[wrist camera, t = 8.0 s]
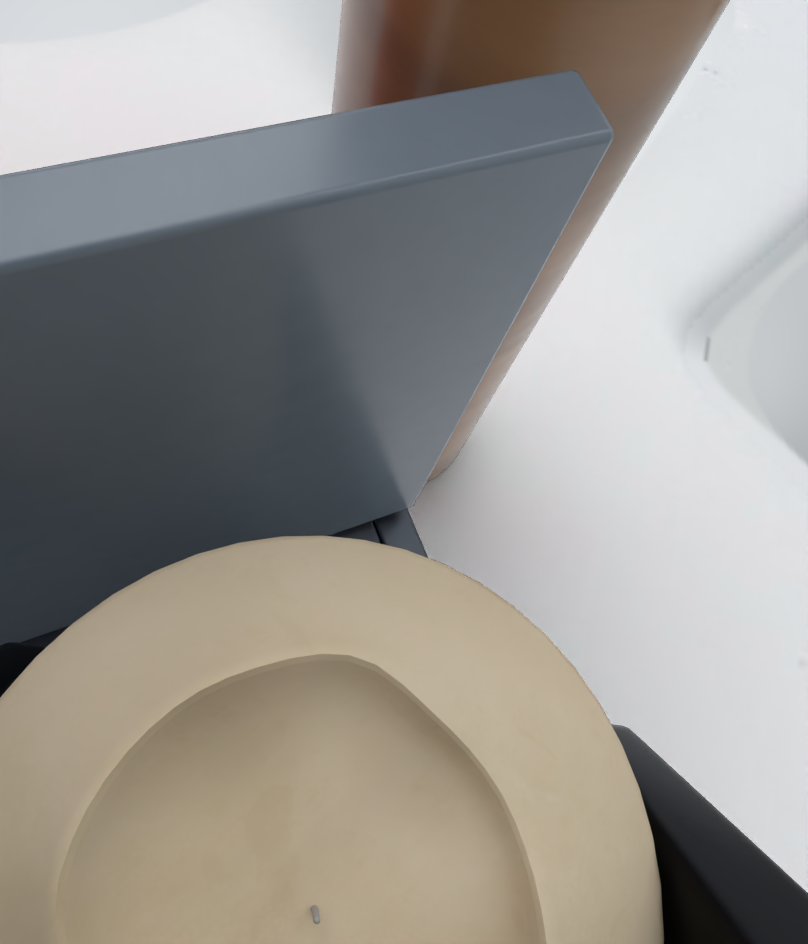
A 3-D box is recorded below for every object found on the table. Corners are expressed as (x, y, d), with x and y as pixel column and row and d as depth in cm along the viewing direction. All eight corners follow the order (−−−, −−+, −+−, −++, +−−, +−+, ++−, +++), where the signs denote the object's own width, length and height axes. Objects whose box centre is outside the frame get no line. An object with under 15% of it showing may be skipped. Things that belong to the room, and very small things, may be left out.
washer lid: (621, 133, 6) (579, 62, 7) (-996, 484, 4) (-977, 347, 4) (414, 506, 16) (399, 472, 16) (-101, 685, 13) (-110, 640, 13)
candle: (503, 823, 14) (940, 911, 5) (274, 1100, 12) (285, 2142, 3) (298, 605, 15) (340, 330, 6) (53, 829, 13) (-489, 957, 4)
